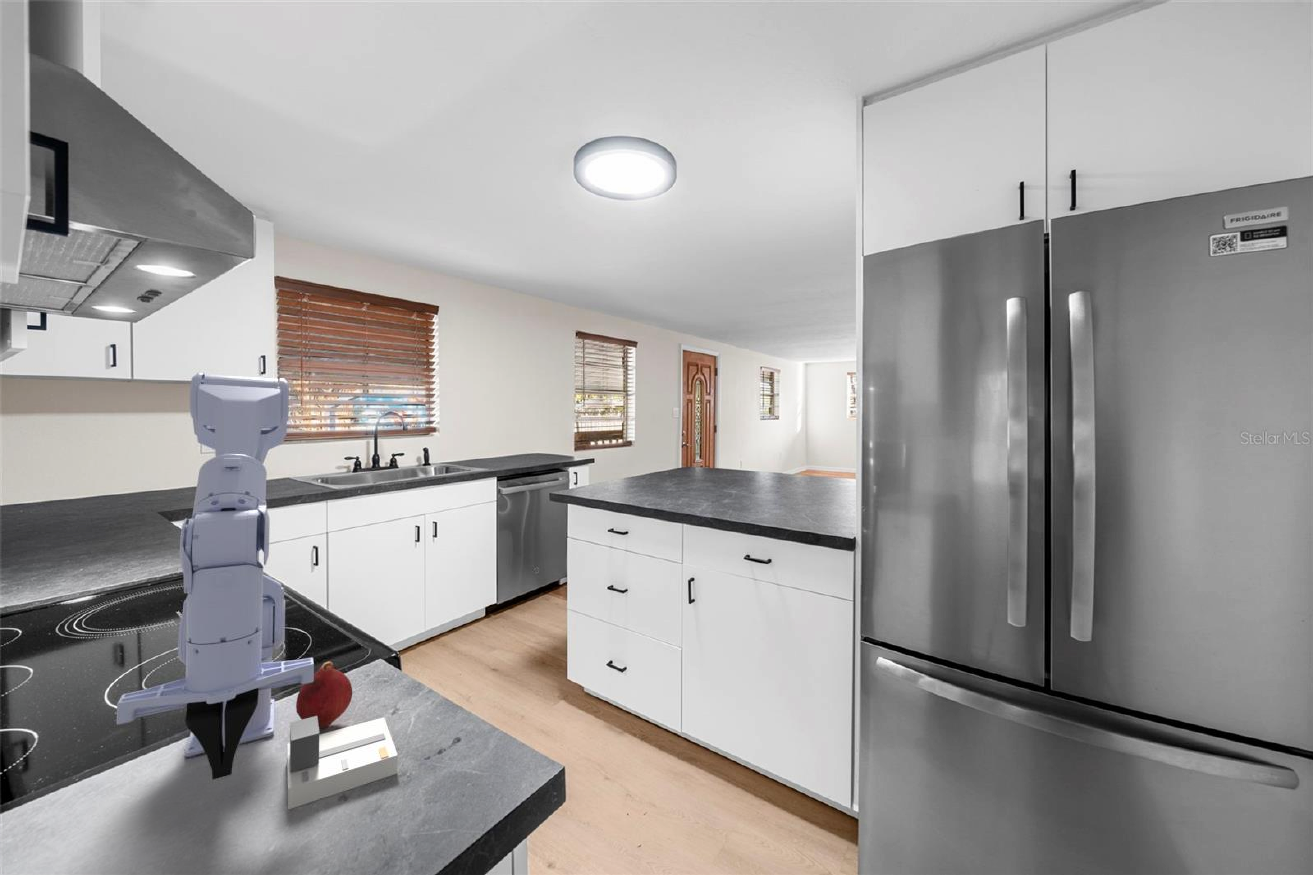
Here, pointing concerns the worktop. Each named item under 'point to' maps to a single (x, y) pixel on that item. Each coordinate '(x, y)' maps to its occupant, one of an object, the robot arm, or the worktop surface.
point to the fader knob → (304, 743)
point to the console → (344, 762)
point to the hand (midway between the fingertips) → (222, 772)
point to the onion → (325, 696)
